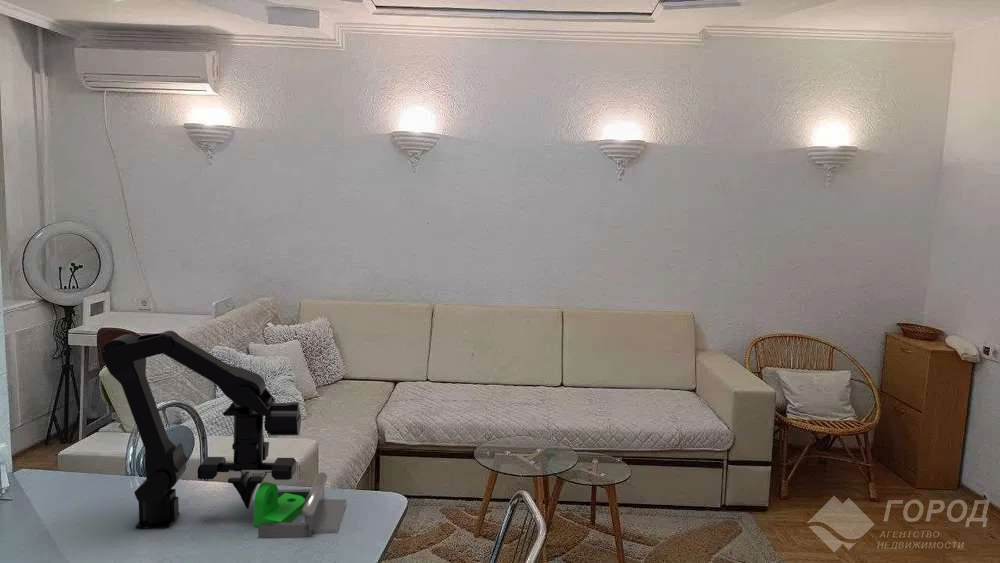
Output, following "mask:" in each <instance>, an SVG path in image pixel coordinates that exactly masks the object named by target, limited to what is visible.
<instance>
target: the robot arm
mask: <svg viewBox="0 0 1000 563" xmlns="http://www.w3.org/2000/svg"><path fill="white" fill-rule="evenodd" d="M157 355H166V356H167V357H169V359H170V358H171V359H172V360H174V361H175V362H177V363H179V364H180V365H182V366H184V367H185V368H187V369H190V371H193V372H194V373H196V374H198V375H199V376H202V377H203V378H205V379H207V380H209V381H210V382H212V383H213V384H214V385H215V386H217V387H218V388H219V390H221V392H222V393H223V394H224V396H226V397H227V398H228V399H229V400H230V401H232V402H231V404H230V406H229V407H227V408H226V409H225V410H224V411H223V413H222V415H223V416H224V417H233V443H232V445H231V446H232V448H231V449H232V450H233V462H227V459H226V457H225V456H207V457H206V458H205V459H203V461H202V462H201V464H199V466H198V467H197V479H199V480H213V479H215V478H216V476H218V473H228V474H229V476H228V479H227V483H228V484H232V485H233V486H234V488H235V490H236V491H237V493H238V494H239V496H240V499H241V500H242V503H243V504H244V506H245V508H246V509H249V508H250V505H251V503H252V500H253V498H254V494H255V492H256V488H257V486H258V484H262V483H263V482H264V479H265V478H266V477H267V475H268V473H270V474H271V477H272V479H274V480H276V481H278V480H279V481H280V480H281V481H285V480H286V481H288V480H292V479H293V477H294V474H296V471H297V463H298V462H297V460H296V459H295V458H294V457H277V458H276V459H275V461H274V462H264V461H265V460H267V458H268V457H269V451H270V450H269V448H270V442H269V441H265V436H264V430H265V431H266V433H267V435H268V434H270V435H269V436H273V437H274V436H278V437H279V436H281V437H283V436H288V437H289V436H291V437H292V436H300V434H301V426H302V425H301V424H302V414H301V410H300V403H299V401H291V402H276V399H275V398H274V396H273V395H272V394H271V393H270V391H269V390H268V389H267V387H266V382H265V379H264V377H263V376H262V375H260V374H259V373H256V372H253V371H251V370H249V369H245V368H242V367H237V366H233V365H230V364H227V363H226V362H224V361H223V360H221V359H219V358H217V357H215V356H214V355H212V354H211V353H209V352H207V351H206V350H204V349H202V348H200V347H199V346H197V345H195V344H194V343H192V342H190V341H188V340H187V339H185V338H183V337H182V336H181V335H180V334H178V333H177V332H175V331H173V330H166V331H163V332H158V333H157V332H156V333H150V334H143V335H140V336H136V335H135V334H130V333H128V334H127V333H126V334H123V335H120V336H118V337H116V338H115V339H112V340H110V341H108V342H106V344H105V345H104V346H103V347H102V350H101V352H100V356H101V360H102V362H103V364H104V366H105V367H106V369H107V371H108V372H109V374H110V375H111V376H112V377H113V378H114V379H115V380H116V381H117V382H118V383H119V384H120V386H121V387H122V392H123V393H124V396H125V398H126V401H127V404H128V406H129V409H130V412H131V415H132V417H133V421H134V423H135V425H136V429H137V431H138V435H139V436H140V439H141V442H142V445H143V448H144V473H145V480H144V481H143V482H142V483H141V484H140V485H139V486H138V487H137V489H136V490H135V491H134V496H135V498H136V500H137V501H138V522H137V523H136V524H135V529H162V528H163V529H164V528H166V529H167V528H169V527H171V525H172V524H173V523H174V521H175V520H176V519H177V518H178V516H179V515H180V509H179V505H180V504H179V496H176V494H177V492H176V488H173V487H175V485H176V484H177V483H178V481H179V480H180V479H181V478H182V476H183V475H184V474H185V472H186V469H187V462H188V461H189V458H188V457H187V455H186V454H185V451H184V445H183V444H182V443H181V442H180V443H177V444H174V443H173V442H172V441H171V440H170V439H169V436H168V434H167V430H166V428H165V426H164V422H163V420H162V417H161V414H160V412H159V409H158V406H157V404H156V403H157V402H156V400H155V397H154V395H153V391H152V390H151V386H150V384H149V381H148V378H147V374H146V372H147V371H146V370H147V369H146V368H147V358H150V357H153V356H157Z"/></svg>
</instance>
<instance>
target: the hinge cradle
mask: <svg viewBox="0 0 1000 563" xmlns="http://www.w3.org/2000/svg"><path fill="white" fill-rule="evenodd" d="M327 480H328V475H327V474H326V473H324V472H319V473H318V474H317V475H316V476H315V479H314V481H313V484H312V486H311V488H310V489H309V488H307V489H305V488H304V489H301V488H300V489H298V488H297V489H278V498H279V497H281V496H282V495H283V494H285V493H289V494H294V495H299V496H302V497H303V498H304V499H305V504H304V506H303V509H302V513H301V515H302V517H304V521H303V522H300V521H299V522H296V521H295V522H293V521H291V522H290V523H259V525H258V526H257V530H258V531H257V533H258V539H260V538H262V539H264V538H265V539H267V538H312V534H334V533H335V534H338V533H339V528H340V526H341V522H342V519H343V515H344V511H345V509H346V505H347V499H346V498H345V499H344V498H343V499H339V498H338V499H337V498H336V499H333V498H332V499H325V495H326V494H325V488H326V487H325V486H326V483H327Z"/></svg>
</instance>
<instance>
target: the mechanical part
mask: <svg viewBox="0 0 1000 563" xmlns="http://www.w3.org/2000/svg"><path fill="white" fill-rule="evenodd" d="M278 490H279V487H278V485H277V484H275V483H271V482H267V481H266V482H264V481H263V482H262V483H260V484H259V487H258V488H257V490H256V491H255V496H254V504H253V526H254V527H258V525H259V523H291V522H293V521H294V520H295V519H297V517H298V516H300V515H302V509H303V506H304V504H305V499H304V498H303V497H302V496H299V495H294V494H289V493H285V494H283V495H282V496H281V497H279V498H278Z"/></svg>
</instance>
